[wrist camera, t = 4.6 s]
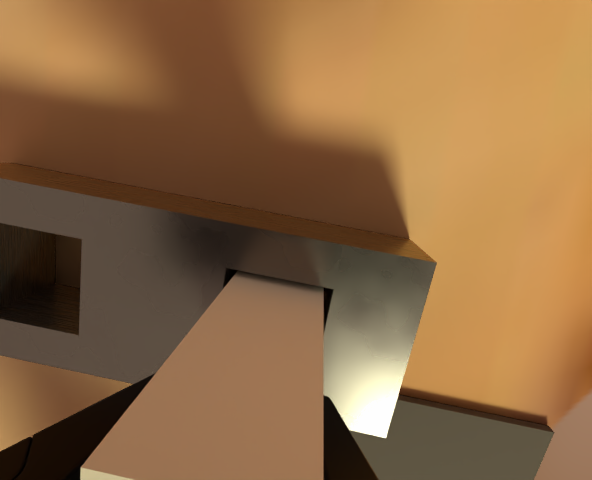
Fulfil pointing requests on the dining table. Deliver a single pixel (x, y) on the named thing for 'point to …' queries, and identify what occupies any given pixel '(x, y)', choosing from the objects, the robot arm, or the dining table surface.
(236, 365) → the peg
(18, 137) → the dining table surface
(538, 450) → the mat
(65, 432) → the robot arm
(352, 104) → the dining table surface
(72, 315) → the grey block with holes
